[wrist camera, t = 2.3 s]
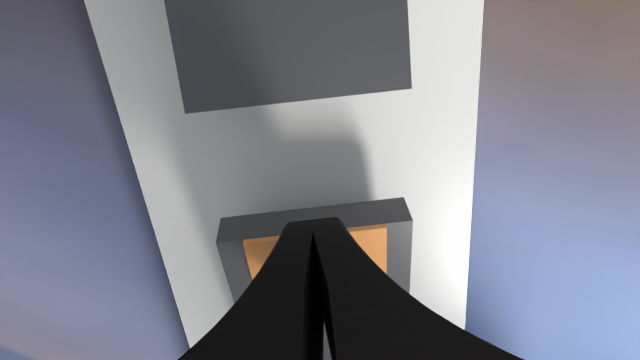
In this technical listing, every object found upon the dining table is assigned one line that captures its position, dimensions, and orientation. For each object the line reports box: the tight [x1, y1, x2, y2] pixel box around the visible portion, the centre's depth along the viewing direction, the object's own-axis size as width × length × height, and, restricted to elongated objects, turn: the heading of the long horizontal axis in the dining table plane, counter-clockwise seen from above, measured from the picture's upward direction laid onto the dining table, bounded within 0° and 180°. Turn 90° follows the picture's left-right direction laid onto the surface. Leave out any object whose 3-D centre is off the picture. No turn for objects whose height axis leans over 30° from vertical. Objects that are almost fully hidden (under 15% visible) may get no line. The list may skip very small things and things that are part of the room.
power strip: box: [84, 0, 484, 348], centre depth 16 cm, size 31×10×3 cm, turn 6°
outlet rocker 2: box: [216, 197, 413, 360], centre depth 13 cm, size 6×5×1 cm
